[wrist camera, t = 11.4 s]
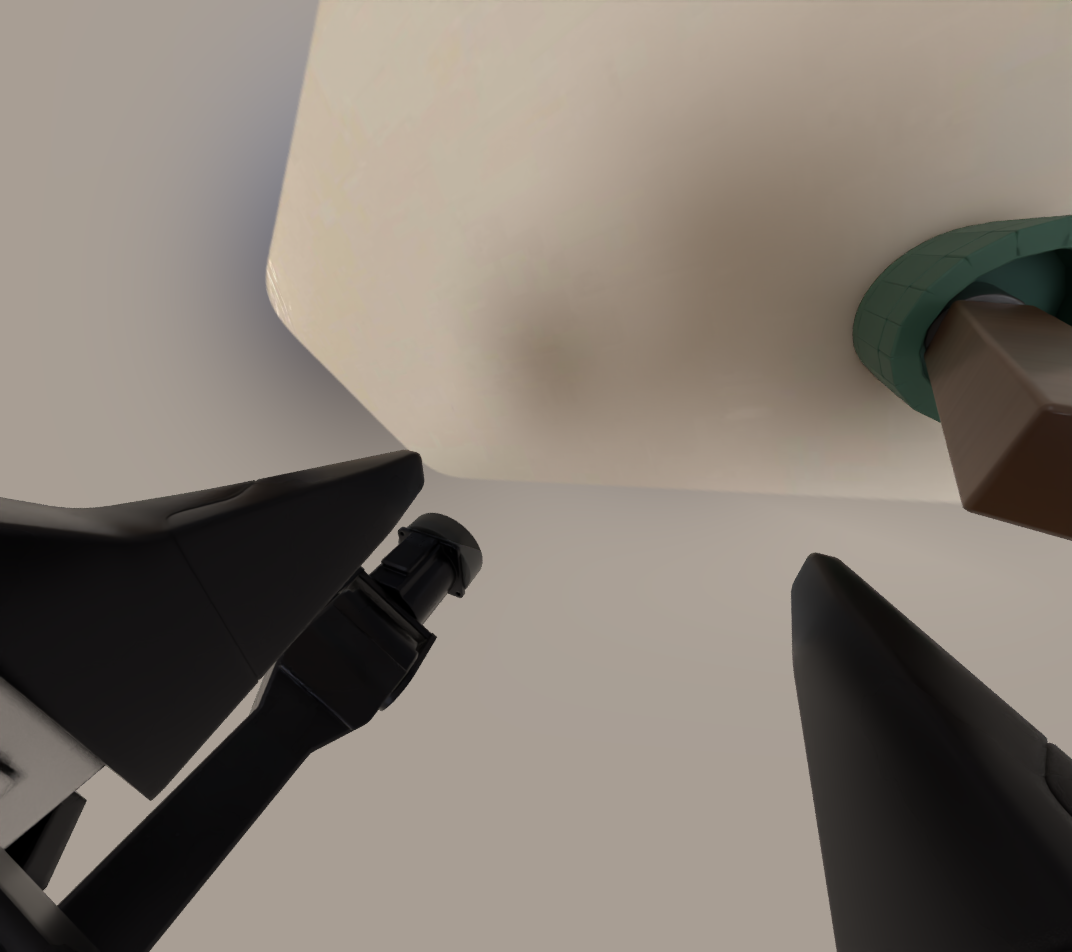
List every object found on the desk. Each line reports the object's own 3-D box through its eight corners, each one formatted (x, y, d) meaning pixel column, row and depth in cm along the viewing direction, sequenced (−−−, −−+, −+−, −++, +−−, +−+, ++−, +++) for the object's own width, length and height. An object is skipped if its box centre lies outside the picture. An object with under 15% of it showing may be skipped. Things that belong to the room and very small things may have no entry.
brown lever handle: (982, 348, 13) (1161, 585, 4) (906, 340, 14) (932, 517, 5) (1023, 283, 12) (1366, 430, 3) (938, 279, 13) (1033, 382, 4)
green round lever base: (995, 395, 14) (1084, 444, 11) (826, 375, 16) (856, 411, 13) (1113, 224, 12) (1287, 214, 8) (893, 221, 13) (955, 213, 10)
